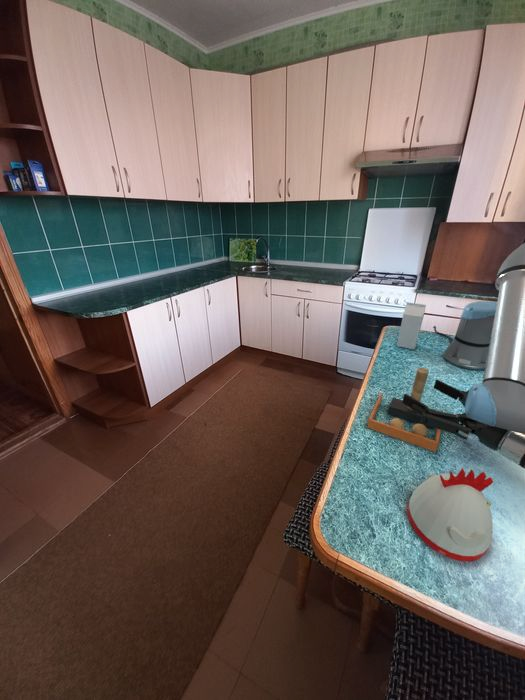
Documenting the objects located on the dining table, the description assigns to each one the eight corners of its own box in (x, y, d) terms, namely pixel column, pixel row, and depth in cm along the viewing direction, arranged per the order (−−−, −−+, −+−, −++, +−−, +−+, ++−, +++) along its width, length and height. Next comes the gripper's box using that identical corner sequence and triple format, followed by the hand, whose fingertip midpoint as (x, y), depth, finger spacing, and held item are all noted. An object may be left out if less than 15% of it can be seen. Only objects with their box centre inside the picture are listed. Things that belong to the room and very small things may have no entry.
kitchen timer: (503, 568, 51) (539, 514, 44) (418, 554, 53) (440, 500, 46) (467, 496, 63) (491, 445, 56) (400, 487, 65) (415, 437, 58)
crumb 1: (392, 414, 81) (388, 425, 79) (406, 418, 79) (403, 430, 77) (391, 419, 83) (387, 430, 82) (404, 424, 82) (401, 435, 80)
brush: (391, 405, 91) (401, 360, 84) (434, 418, 85) (449, 372, 78) (387, 414, 87) (397, 368, 80) (432, 428, 81) (447, 380, 74)
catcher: (379, 400, 93) (381, 392, 92) (440, 418, 85) (443, 410, 83) (367, 427, 82) (368, 419, 81) (435, 452, 74) (438, 443, 72)
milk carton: (414, 350, 123) (424, 307, 114) (396, 346, 127) (405, 304, 118) (416, 343, 128) (427, 302, 120) (399, 340, 132) (408, 300, 123)
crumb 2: (415, 420, 78) (411, 432, 77) (429, 424, 77) (426, 437, 75) (413, 423, 81) (409, 435, 80) (427, 428, 80) (424, 441, 78)
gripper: (469, 473, 61) (387, 416, 78) (527, 431, 71) (443, 388, 88) (481, 447, 58) (392, 393, 74) (540, 407, 68) (450, 367, 85)
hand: (420, 390), depth 81 cm, fingers open, 13 cm apart
